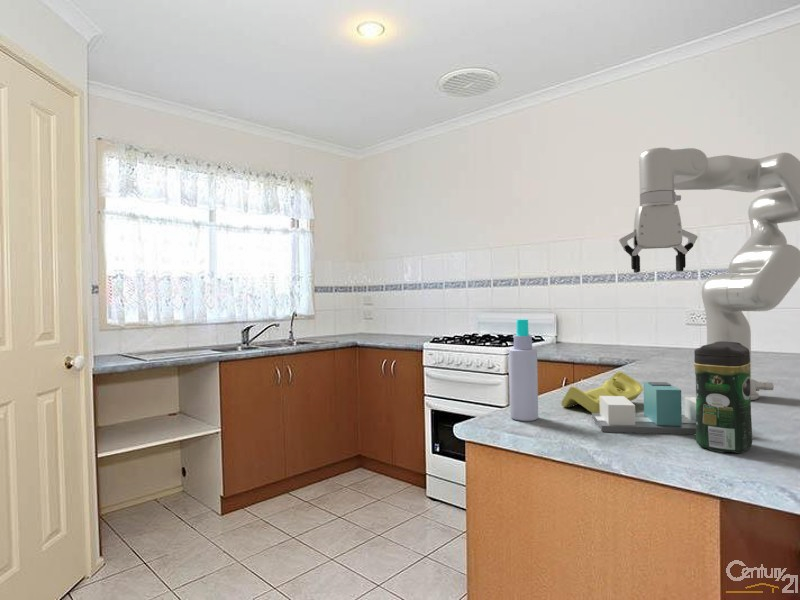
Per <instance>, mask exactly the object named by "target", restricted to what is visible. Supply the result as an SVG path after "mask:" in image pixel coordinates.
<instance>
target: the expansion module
mask: <svg viewBox="0 0 800 600" xmlns="http://www.w3.org/2000/svg"><path fill="white" fill-rule="evenodd" d="M682 410H683V408H682V389H680V388H678V387H677V386H674V385H673V384H671V383H669V382H667V381H643V414H644V415H645V416H647V417H648V418H649V419H650V420H651V421H652V422H654V423H655V424H656V425H667V426H682V415H683V413H682Z"/></svg>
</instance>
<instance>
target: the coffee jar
mask: <svg viewBox="0 0 800 600" xmlns="http://www.w3.org/2000/svg"><path fill="white" fill-rule="evenodd" d="M693 354H694V358H693V359H694V363H693V364H694V373H695V397H696V435H695V440H696V441H695V442H696V444H697V446H699V447H702V448H705V449H708V450H710V451H714V452H718V453H736V454H737V453H738V454H739V453H742V452H743V453H744V452H745V451H747V450H749V448H750V447H751V446H752V444H753V429H752V428H753V427H752V400H751V396H750V353H749V349H748V348H746V347H745V346H743V345H741V344H740V343H737V342H725V341H719V342H715V343H712V344H708V345H707V344H705V345H701V346H700V347H698V348H694V353H693Z"/></svg>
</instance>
